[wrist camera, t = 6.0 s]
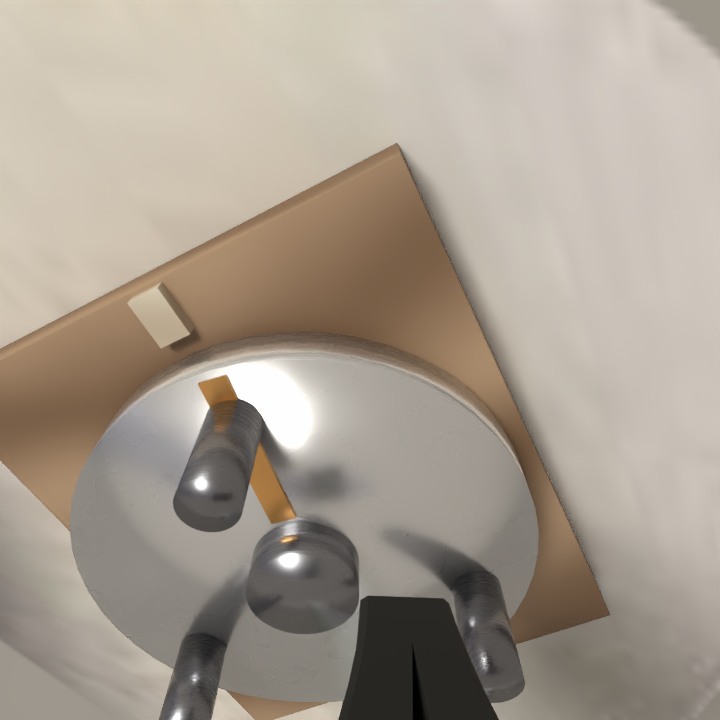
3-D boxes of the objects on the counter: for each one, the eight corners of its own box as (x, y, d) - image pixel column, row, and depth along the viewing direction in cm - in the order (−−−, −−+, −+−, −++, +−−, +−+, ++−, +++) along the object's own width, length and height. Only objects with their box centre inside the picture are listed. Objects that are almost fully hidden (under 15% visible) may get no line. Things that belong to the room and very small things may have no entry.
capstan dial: (1, 408, 17) (-111, 527, 13) (470, 267, 15) (511, 356, 11) (205, 690, 23) (172, 832, 19) (558, 617, 21) (605, 757, 17)
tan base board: (-35, 367, 18) (-75, 401, 16) (397, 142, 15) (401, 157, 13) (264, 687, 25) (257, 734, 24) (595, 580, 22) (614, 624, 21)
